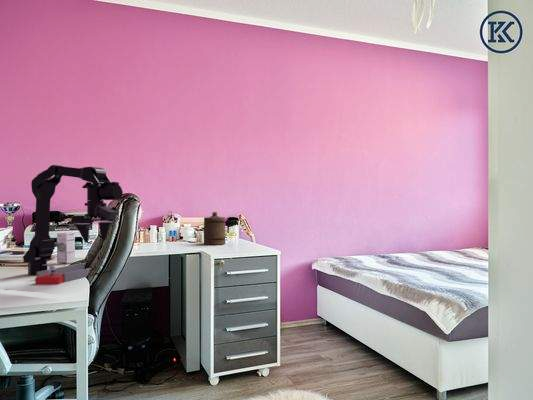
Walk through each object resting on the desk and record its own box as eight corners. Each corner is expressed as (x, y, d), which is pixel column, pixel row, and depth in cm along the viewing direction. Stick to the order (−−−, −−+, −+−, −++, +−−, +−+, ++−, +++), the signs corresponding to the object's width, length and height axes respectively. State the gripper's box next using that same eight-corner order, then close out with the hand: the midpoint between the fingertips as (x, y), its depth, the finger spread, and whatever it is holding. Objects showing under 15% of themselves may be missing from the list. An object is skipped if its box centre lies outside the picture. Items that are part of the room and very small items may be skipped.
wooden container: (229, 243, 285) (229, 211, 285) (218, 245, 272) (217, 212, 272) (211, 242, 291) (211, 211, 291) (199, 244, 278) (199, 212, 278)
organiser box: (36, 279, 150) (36, 271, 150) (86, 269, 174) (86, 262, 174) (64, 282, 146) (64, 273, 146) (111, 270, 170) (111, 263, 170)
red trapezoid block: (67, 281, 149) (67, 264, 149) (58, 285, 142) (58, 267, 142) (45, 282, 149) (45, 264, 149) (35, 285, 142) (35, 267, 142)
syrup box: (75, 261, 197) (75, 231, 197) (66, 263, 191) (66, 232, 191) (65, 261, 199) (65, 231, 199) (56, 263, 193) (56, 232, 193)
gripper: (95, 200, 143) (95, 244, 143) (128, 200, 161) (129, 239, 161) (69, 200, 146) (69, 243, 146) (105, 200, 164) (105, 239, 164)
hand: (95, 241), depth 154 cm, fingers open, 9 cm apart
